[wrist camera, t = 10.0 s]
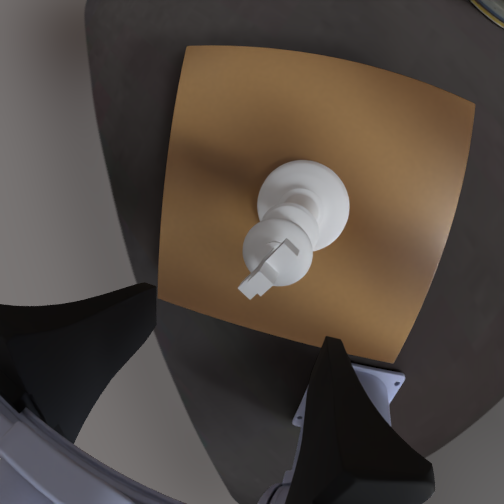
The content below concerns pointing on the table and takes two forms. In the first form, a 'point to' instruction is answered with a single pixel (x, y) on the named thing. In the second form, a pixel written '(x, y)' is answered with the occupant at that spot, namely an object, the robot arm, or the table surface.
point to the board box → (332, 156)
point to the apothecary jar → (492, 10)
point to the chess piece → (292, 224)
